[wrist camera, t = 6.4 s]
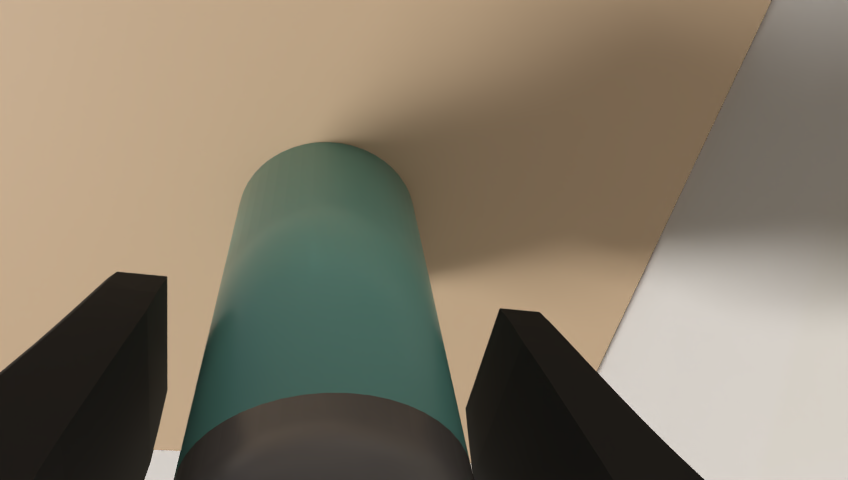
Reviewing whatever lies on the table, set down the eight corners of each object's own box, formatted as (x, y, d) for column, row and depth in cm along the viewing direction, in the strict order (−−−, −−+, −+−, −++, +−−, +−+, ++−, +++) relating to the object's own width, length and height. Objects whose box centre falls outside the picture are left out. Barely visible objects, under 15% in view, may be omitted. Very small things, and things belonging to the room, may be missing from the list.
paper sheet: (0, 428, 14) (-8, 442, 14) (-149, -331, 7) (-172, -339, 7) (547, 453, 17) (551, 466, 16) (795, -88, 10) (812, -85, 10)
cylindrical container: (234, 283, 12) (146, 698, 6) (243, 129, 11) (139, 499, 5) (396, 298, 13) (452, 684, 7) (430, 155, 11) (537, 506, 5)
